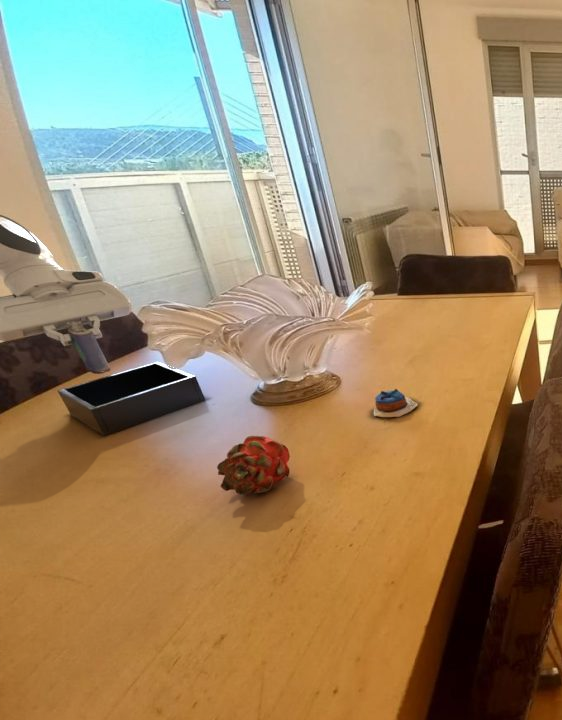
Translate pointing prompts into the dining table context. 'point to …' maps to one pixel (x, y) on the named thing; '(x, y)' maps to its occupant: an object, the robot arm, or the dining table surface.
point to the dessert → (392, 404)
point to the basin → (131, 397)
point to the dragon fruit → (254, 465)
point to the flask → (88, 348)
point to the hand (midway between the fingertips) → (84, 340)
